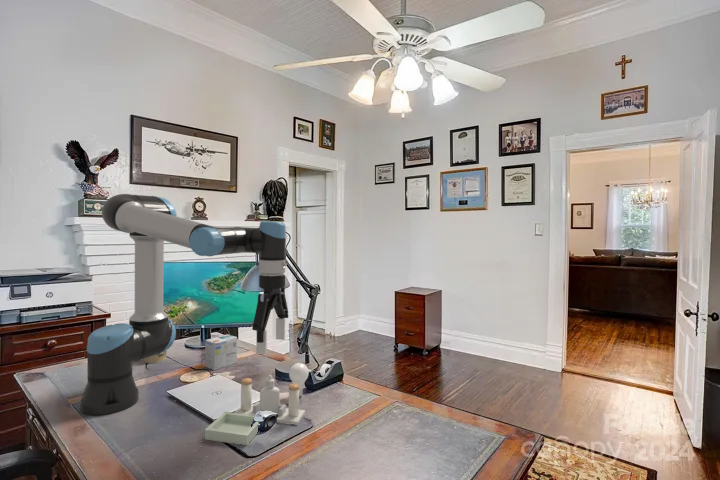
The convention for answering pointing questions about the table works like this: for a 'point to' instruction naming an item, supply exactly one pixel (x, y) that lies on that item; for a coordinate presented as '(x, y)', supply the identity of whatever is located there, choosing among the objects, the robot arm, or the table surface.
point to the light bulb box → (220, 352)
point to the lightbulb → (299, 375)
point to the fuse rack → (285, 414)
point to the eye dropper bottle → (270, 397)
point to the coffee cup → (156, 358)
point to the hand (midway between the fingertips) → (271, 346)
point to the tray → (232, 428)
